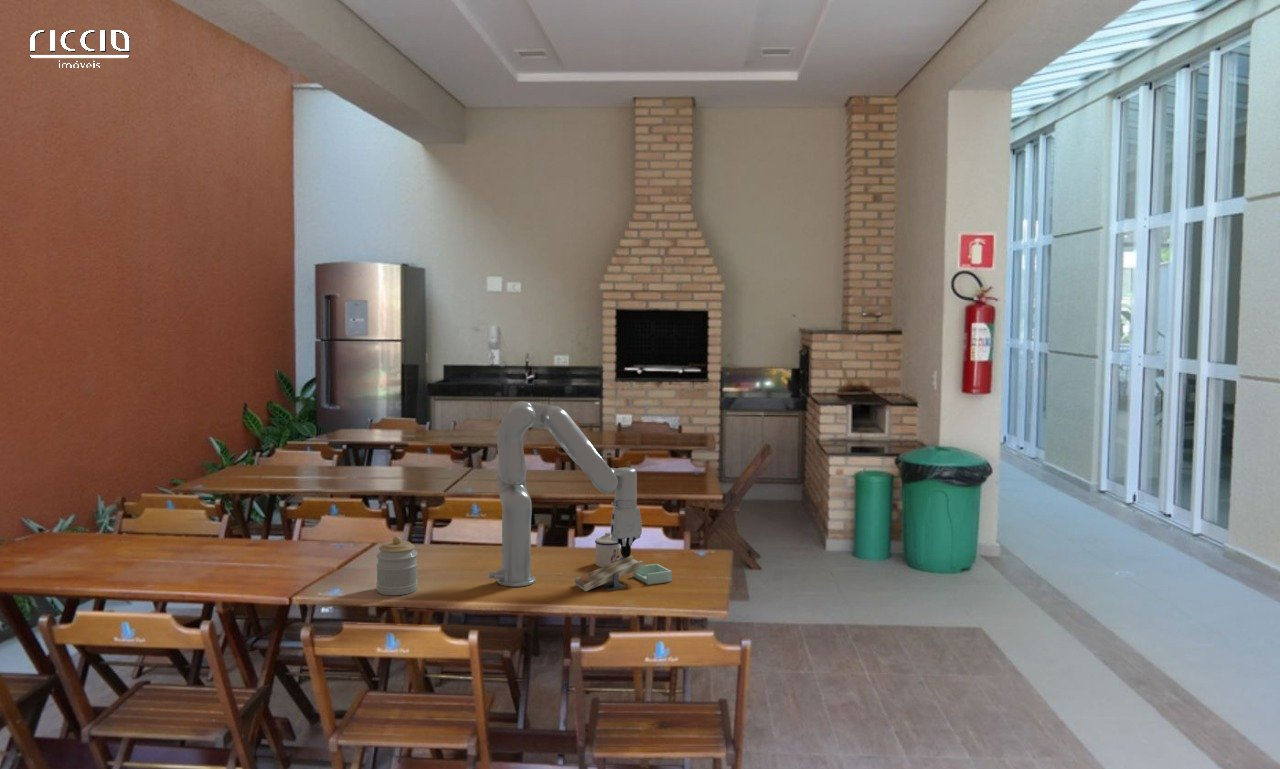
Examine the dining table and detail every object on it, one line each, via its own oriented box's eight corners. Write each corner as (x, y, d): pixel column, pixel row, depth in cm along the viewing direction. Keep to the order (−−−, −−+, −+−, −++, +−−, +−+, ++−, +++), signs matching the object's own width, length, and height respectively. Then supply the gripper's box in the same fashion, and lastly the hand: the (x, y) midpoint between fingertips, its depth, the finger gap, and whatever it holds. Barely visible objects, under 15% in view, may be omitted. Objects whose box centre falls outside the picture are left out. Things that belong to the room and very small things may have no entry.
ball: (583, 585, 307) (581, 576, 307) (579, 583, 310) (577, 574, 309) (592, 582, 309) (590, 573, 308) (588, 580, 311) (586, 571, 311)
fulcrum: (609, 590, 307) (609, 576, 306) (594, 581, 317) (594, 567, 317) (625, 588, 309) (625, 574, 309) (610, 578, 320) (610, 565, 320)
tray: (647, 584, 314) (647, 574, 314) (633, 576, 323) (633, 566, 323) (671, 581, 318) (671, 571, 318) (657, 573, 327) (657, 563, 327)
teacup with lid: (614, 569, 332) (615, 536, 332) (591, 566, 335) (591, 534, 335) (626, 560, 344) (626, 529, 343) (603, 558, 347) (603, 527, 346)
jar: (407, 597, 297) (407, 542, 295) (369, 594, 299) (368, 540, 298) (424, 585, 309) (424, 532, 308) (387, 583, 312) (386, 530, 310)
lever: (585, 591, 305) (583, 584, 304) (570, 581, 317) (568, 574, 316) (644, 566, 314) (642, 559, 314) (626, 557, 326) (625, 550, 325)
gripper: (610, 508, 315) (610, 561, 316) (650, 503, 322) (650, 556, 323) (601, 504, 322) (601, 556, 323) (640, 500, 328) (640, 551, 330)
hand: (625, 556), depth 323 cm, fingers closed
